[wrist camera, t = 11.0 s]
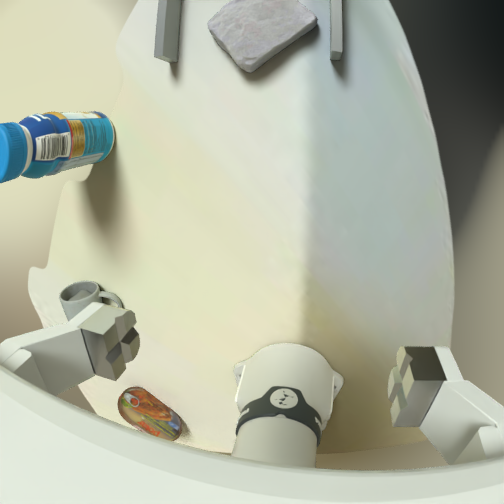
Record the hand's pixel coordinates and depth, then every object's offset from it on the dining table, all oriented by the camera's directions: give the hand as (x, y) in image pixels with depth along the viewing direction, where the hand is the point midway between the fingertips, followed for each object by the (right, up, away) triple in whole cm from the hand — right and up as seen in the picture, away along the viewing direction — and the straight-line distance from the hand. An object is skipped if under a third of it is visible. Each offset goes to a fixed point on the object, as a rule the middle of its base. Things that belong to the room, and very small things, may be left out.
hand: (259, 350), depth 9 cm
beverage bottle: (-24, +21, +34) cm, 46 cm away
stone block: (+1, +32, +24) cm, 40 cm away
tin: (-21, -30, +53) cm, 65 cm away
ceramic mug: (-28, -6, +45) cm, 54 cm away
